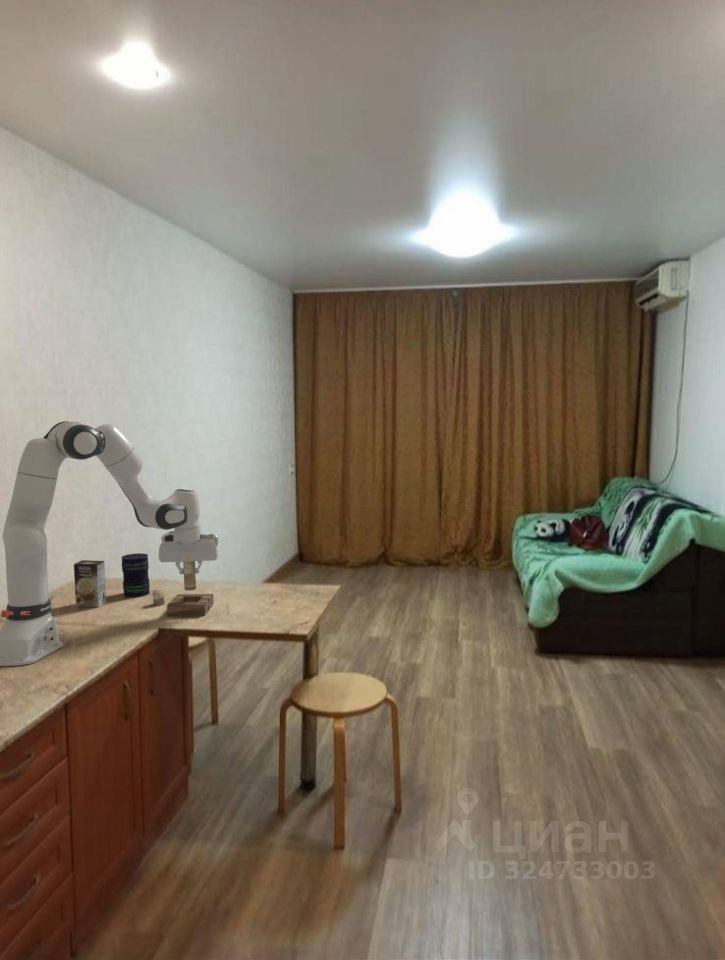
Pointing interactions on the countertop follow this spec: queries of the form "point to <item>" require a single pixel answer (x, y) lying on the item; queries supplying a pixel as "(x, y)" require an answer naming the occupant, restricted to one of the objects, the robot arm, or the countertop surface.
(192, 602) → the walnut collar
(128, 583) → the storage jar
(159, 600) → the short pin
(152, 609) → the countertop surface
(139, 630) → the countertop surface
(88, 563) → the coffee box
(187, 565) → the long pin
